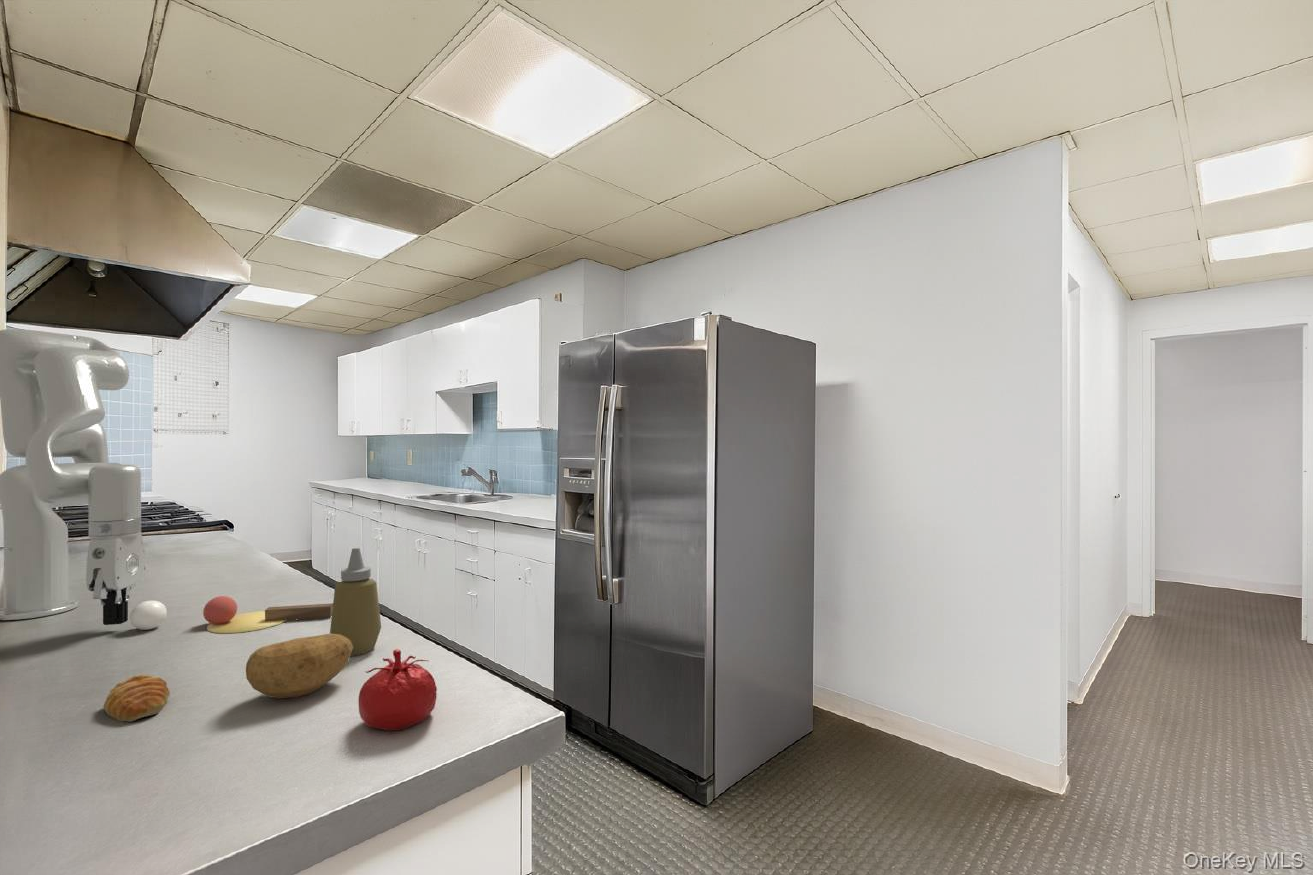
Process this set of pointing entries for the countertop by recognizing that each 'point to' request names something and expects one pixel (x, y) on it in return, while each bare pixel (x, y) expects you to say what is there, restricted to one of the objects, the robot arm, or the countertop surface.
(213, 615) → the object ball
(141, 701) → the pastry
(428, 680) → the red tomato
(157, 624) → the white egg
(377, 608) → the squeeze bottle
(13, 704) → the countertop surface
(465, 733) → the countertop surface
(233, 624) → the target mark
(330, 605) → the rail
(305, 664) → the potato
